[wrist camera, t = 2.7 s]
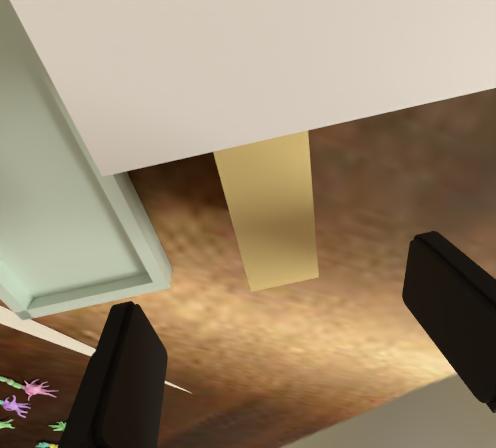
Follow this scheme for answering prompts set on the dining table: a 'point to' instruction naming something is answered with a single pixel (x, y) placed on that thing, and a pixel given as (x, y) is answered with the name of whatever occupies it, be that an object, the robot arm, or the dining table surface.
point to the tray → (62, 200)
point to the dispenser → (249, 67)
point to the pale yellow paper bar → (272, 208)
